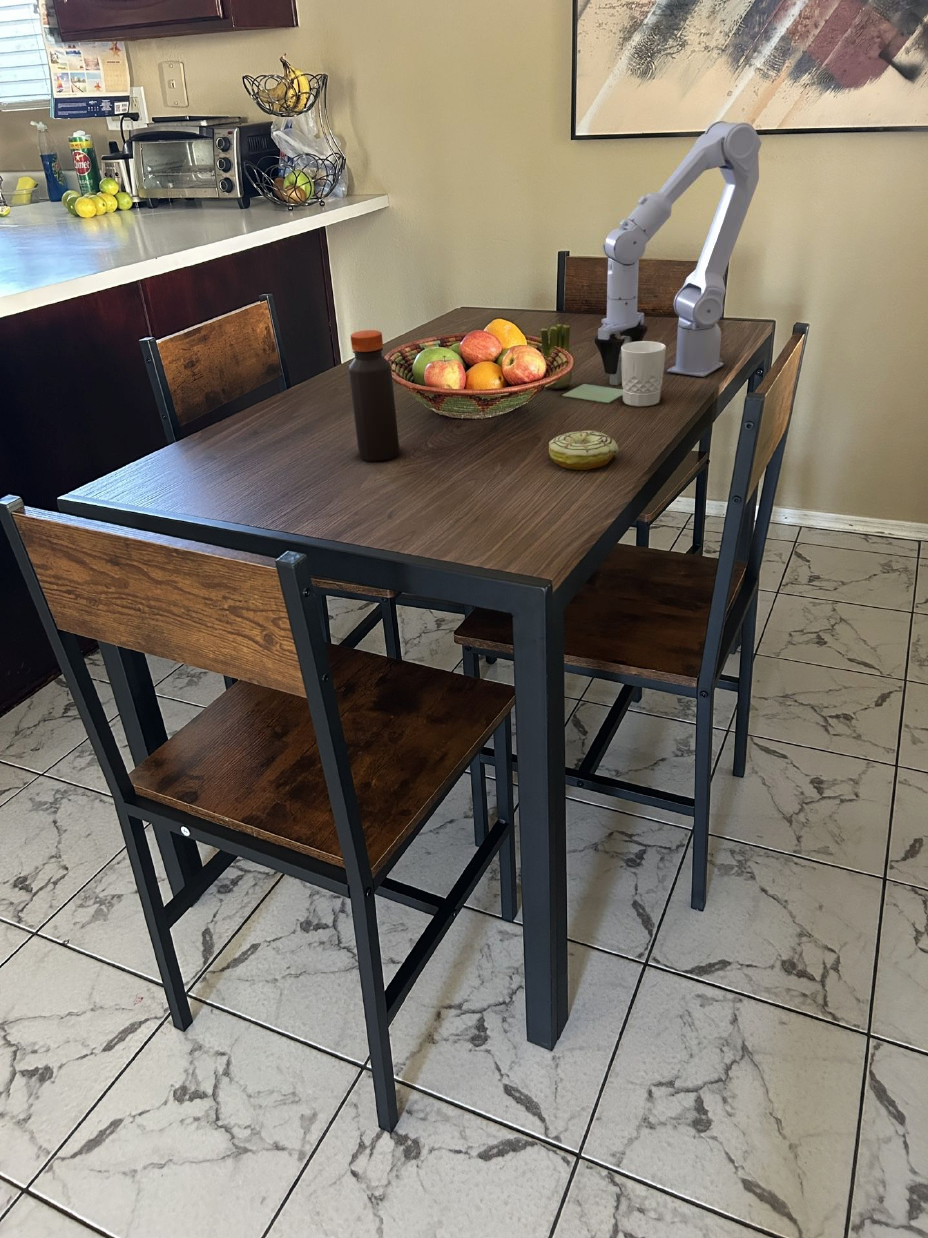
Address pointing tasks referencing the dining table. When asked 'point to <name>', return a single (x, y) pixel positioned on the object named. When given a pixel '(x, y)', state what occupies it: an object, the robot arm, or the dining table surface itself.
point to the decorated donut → (582, 449)
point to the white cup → (642, 372)
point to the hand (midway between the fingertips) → (620, 368)
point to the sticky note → (595, 393)
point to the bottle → (373, 398)
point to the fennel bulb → (558, 339)
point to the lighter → (619, 365)
